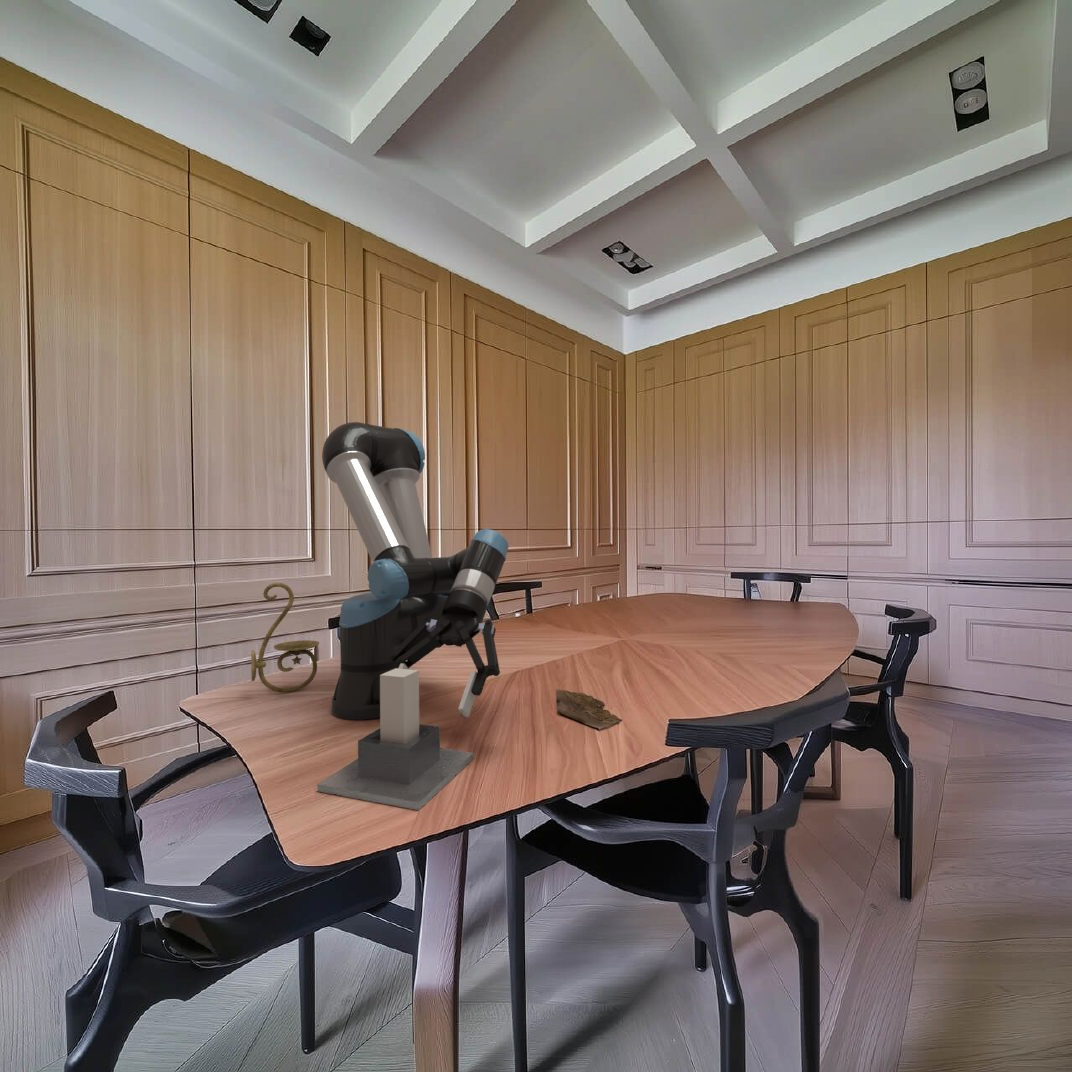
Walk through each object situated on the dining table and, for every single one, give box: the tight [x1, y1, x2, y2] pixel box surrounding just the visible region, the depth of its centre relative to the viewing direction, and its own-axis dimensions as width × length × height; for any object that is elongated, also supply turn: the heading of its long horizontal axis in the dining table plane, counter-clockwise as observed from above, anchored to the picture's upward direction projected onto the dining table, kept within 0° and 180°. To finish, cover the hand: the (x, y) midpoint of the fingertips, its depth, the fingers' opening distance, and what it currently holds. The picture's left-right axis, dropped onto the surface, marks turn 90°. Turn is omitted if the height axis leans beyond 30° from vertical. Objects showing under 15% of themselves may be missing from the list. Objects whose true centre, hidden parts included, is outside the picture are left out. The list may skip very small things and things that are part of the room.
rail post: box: [379, 668, 420, 744], centre depth 76 cm, size 4×4×14 cm
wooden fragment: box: [555, 689, 623, 732], centre depth 105 cm, size 26×11×1 cm, turn 13°
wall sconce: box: [250, 582, 320, 693], centre depth 117 cm, size 14×10×25 cm
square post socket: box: [316, 723, 474, 811], centre depth 76 cm, size 16×16×6 cm
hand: (425, 708), depth 82 cm, fingers open, 13 cm apart
